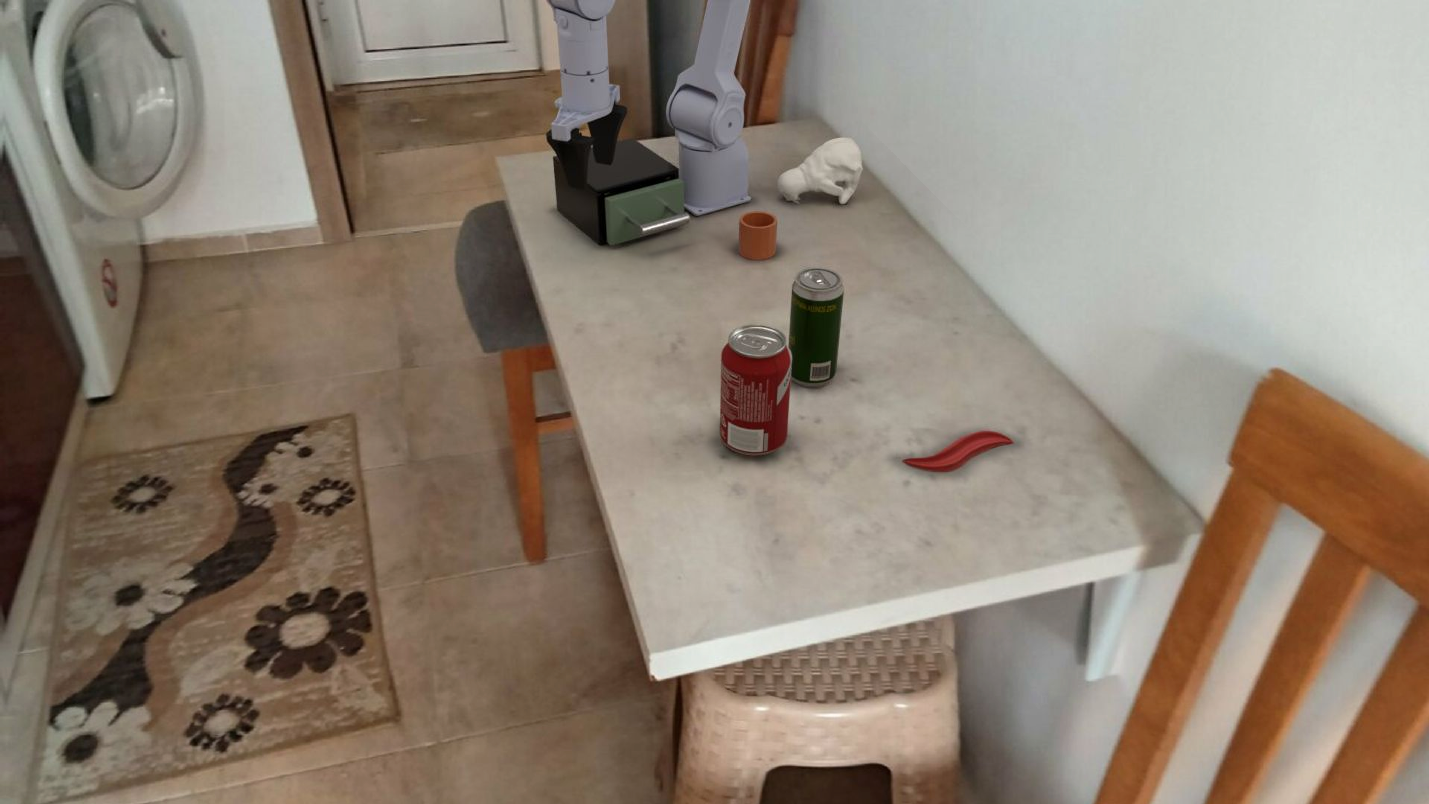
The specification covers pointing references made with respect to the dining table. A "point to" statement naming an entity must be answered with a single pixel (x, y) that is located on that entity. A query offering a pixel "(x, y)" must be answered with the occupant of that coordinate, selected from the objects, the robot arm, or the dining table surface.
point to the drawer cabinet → (607, 184)
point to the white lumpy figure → (825, 171)
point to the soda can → (755, 390)
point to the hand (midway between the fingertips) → (591, 174)
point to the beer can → (815, 326)
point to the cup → (757, 235)
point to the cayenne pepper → (959, 451)
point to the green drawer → (643, 209)
